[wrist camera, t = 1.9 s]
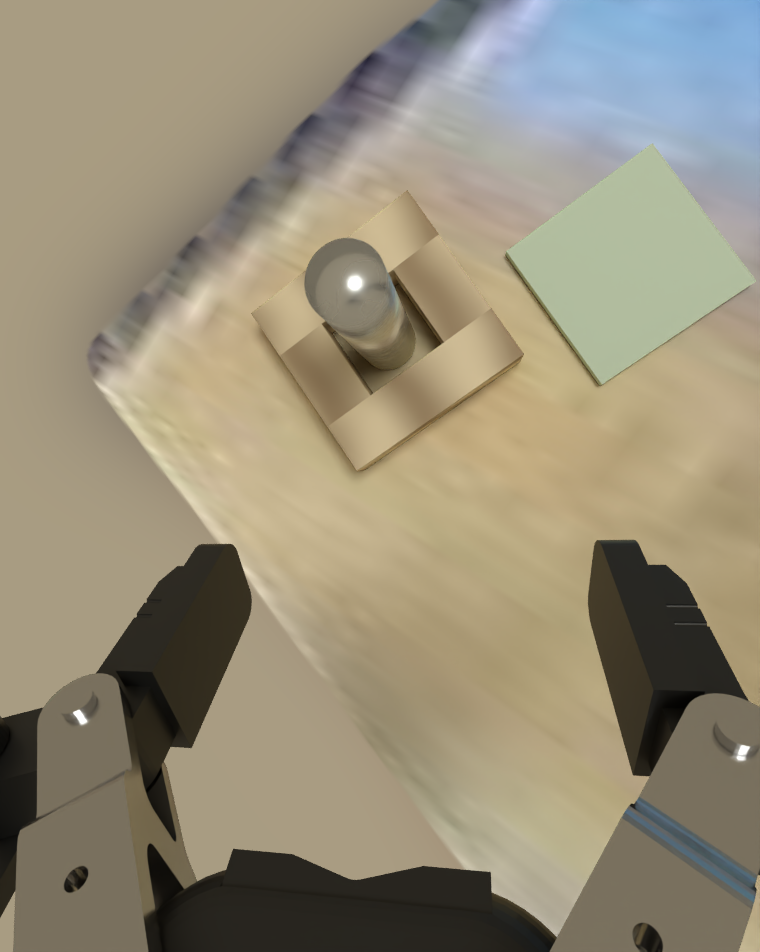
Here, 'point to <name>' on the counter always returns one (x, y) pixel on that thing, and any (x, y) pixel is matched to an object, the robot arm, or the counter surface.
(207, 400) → the counter surface
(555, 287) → the mat
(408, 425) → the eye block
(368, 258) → the peg
